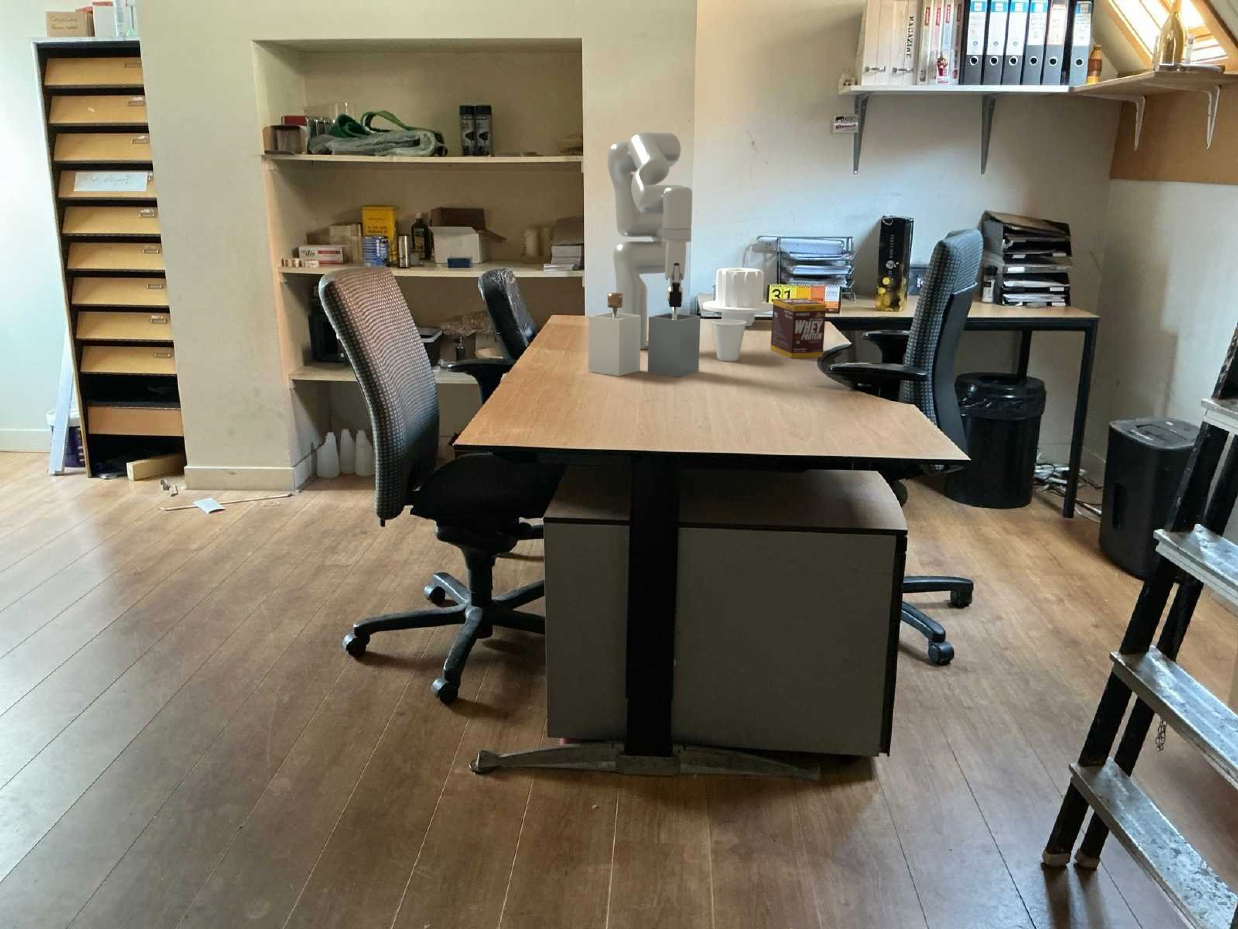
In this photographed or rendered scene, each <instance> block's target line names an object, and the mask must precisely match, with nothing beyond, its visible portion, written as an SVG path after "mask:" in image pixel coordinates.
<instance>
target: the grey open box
mask: <svg viewBox="0 0 1238 929" xmlns="http://www.w3.org/2000/svg"><path fill="white" fill-rule="evenodd" d="M672 315H673V312H666V313H662V314H656V315H652V316H648V330H647V331H648V335H647V337H648V338H647V340H648V348H647V373H648V374H649V373H650V374H656V375H663V376H668V377H669V376H670V377H675V378H676V377H677V378H680V377H684V376H687V375H691V374H694V373H697V372H699V370H700V364H699V363H700V342H701V341H700V340H701V339H700V338H701V334H700V333H701V315H693V314H691V315H690V314H683V313H677V320H675V319H672Z"/></svg>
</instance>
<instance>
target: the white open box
mask: <svg viewBox="0 0 1238 929" xmlns="http://www.w3.org/2000/svg"><path fill="white" fill-rule="evenodd" d="M640 339H641V315H633V314H624V313H617V319H613V311H608V312H605V313H598V314H593V315H589V316H588V372H589V373H595V374H601V375H609V376H614V377H620V376H624V375H628V374H631V373H636V372H639V371H641V349H640Z"/></svg>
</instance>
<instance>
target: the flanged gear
mask: <svg viewBox="0 0 1238 929" xmlns="http://www.w3.org/2000/svg"><path fill="white" fill-rule="evenodd" d="M715 277H716V278H715V300H709V301H705V302H703V303H702V308H703V309H704V310H706V311H710V312H717V313H721V319H734V320H742V321H746V322H747V324H746V326H750V327H752V325H753V324H754V323H755V314H762V313H770V312H773V303H771V302H764V301H763V300H764V285H765V284H764V283H765V282H764V281H765V273H764V271H763V270H762V269H758V268H753V267H752V268H749V267H723V268H718V269H717V270H716V274H715ZM753 322H754V323H753ZM752 323H753V324H752Z"/></svg>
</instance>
